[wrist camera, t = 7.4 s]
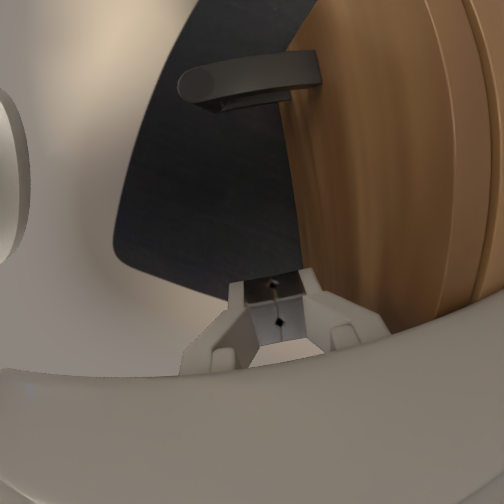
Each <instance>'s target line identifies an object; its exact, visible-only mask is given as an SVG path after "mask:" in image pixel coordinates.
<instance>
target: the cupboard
mask: <svg viewBox="0 0 504 504" xmlns="http://www.w3.org/2000/svg"><path fill="white" fill-rule="evenodd" d="M461 1H462V3H463V6H464V8H465V11H466V14H467V17H468V20H469V22H470V25H471V29H472V32H473V35H474V38H475V42H476V46H477V49H478V53H479V57H480V62H481V66H482V71H483V76H484V82H485V88H486V94H487V102H488V110H489V121H490V137H491V180H490V196H489V207H488V216H487V223H486V230H485V236H484V242H483V248H482V253H481V258H480V262H479V267H478V271H477V275H476V279H475V283H474V287H473V290H472V294H471V297H470V301H469V304H468V305H470V304H472V303H475V302H477V301H479V300H481V299H483V298H485V297H487V296H489V295H491V294H493V293H495V292H497V291H499V290H501V289H503V288H504V0H461Z"/></svg>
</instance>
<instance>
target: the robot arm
mask: <svg viewBox="0 0 504 504" xmlns="http://www.w3.org/2000/svg"><path fill="white" fill-rule="evenodd" d="M305 337H307V338H308V339H309V340H310V341H311V342H313V343H314V344H315V345H316V346H318V347H319V348H320V349H321V350H322V351H324V352H325V354H320V355H316V356H312V357H307V358H302V359H297V360H292V361H287V362H282V363H276V364H270V365H265V366H259V367H252V368H248V367H249V365H250V363H251V362H252V360H253V358H254V357H255V355H256V353H257V351H258V349H259V346H264V345H269V344H273V343H279V342H283V341H288V340H295V339H300V338H305ZM0 504H504V288H503V289H501V290H499V291H497V292H495V293H493V294H491V295H489V296H487V297H485V298H483V299H481V300H479V301H477V302H475V303H472V304H470V305H468V306H466V307H464V308H461V309H459V310H457V311H454V312H452V313H449V314H447V315H445V316H442V317H440V318H437V319H435V320H432V321H429V322H427V323H424V324H421V325H419V326H416V327H413V328H410V329H407V330H404V331H401V332H398V333H395V334H392V335H391V333H390V331H389V330H388V328H387V326H386V325H385V323H384V321H383V320H382V318H381V316H380V315H379V314H378V313H375V312H373V311H371V310H369V309H366V308H364V307H362V306H360V305H358V304H355V303H353V302H351V301H349V300H347V299H344V298H342V297H340V296H338V295H336V294H333V293H331V292H329V291H323V290H322V288H321V286H320V284H319V281H318V279H317V277H316V275H315V273H314V271H313V268H311V267H310V268H306V269H301V270H297V271H293V272H289V273H284V274H280V275H275V276H269V277H263V278H257V279H252V280H246V281H239V282H235V283H230V285H229V297H228V310H225V311H223V312H222V313H221V314H220V315H219V316H218V318H216V319H215V320H214V322H212V323H211V324H210V325H209V326H208V327H207V328H206V330H205V331H204V332H203V333H202V334H201V335H200V336H199V337H198V338H197V339H196V340H195V341H194V342H193V343H192V344H191V345H190V346H189V347H188V348H187V349H186V350H185V351H184V352H183V356H182V361H181V366H180V372H179V376H163V377H129V378H128V377H126V378H123V377H122V378H119V377H113V378H112V377H84V376H68V375H55V374H46V373H37V372H30V371H22V370H16V369H11V368H4V369H2V370H0Z"/></svg>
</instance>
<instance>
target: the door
mask: <svg viewBox="0 0 504 504" xmlns="http://www.w3.org/2000/svg"><path fill="white" fill-rule="evenodd" d="M177 89H178V93H179V95H180V96H181V98H182V99H184V100H185V101H187V102H189V103H191V104H194V105H196V106H198V107H201V108H203V109H205V110H208V111H210V112H212V113H222V112H227V111H232V110H237V109H242V108H247V107H253V106H259V105H265V104H272V103H278V104H279V109H280V114H281V119H282V125H283V130H284V136H285V141H286V147H287V153H288V159H289V165H290V171H291V177H292V184H293V191H294V197H295V204H296V211H297V219H298V226H299V234H300V242H301V250H302V259H303V268H304V269H306V268H310V267H311V268H313V271H314V273H315V275H316V277H317V279H318V281H319V284H320V286H321V288H322V290H323V291H329V292H331V293H333V294H336V295H338V296H340V297H342V298H344V299H347V300H349V301H351V302H353V303H355V304H358V305H360V306H362V307H364V308H366V309H369V310H371V311H373V312H375V313H378V314H379V315H380V316H381V318H382V320H383V321H384V323H385V325H386V326H387V328H388V330H389V331H390V333H391V335H392V334H395V333H398V332H401V331H404V330H407V329H410V328H413V327H416V326H419V325H421V324H424V323H427V322H429V321H432V320H435V319H437V318H440V317H442V316H445V315H447V314H449V313H452V312H454V311H457V310H459V309H461V308H464V307H466V306H468V304H469V301H470V297H471V294H472V290H473V287H474V283H475V279H476V275H477V271H478V267H479V262H480V258H481V253H482V248H483V242H484V236H485V230H486V223H487V216H488V207H489V196H490V180H491V137H490V121H489V110H488V102H487V94H486V88H485V82H484V76H483V71H482V66H481V62H480V57H479V53H478V49H477V46H476V42H475V38H474V35H473V32H472V29H471V25H470V22H469V20H468V17H467V14H466V11H465V8H464V6H463V3H462V1H461V0H318V1H317V2H316V4H315V5H314V7H313V8H312V10H311V11H310V13H309V14H308V16H307V17H306V19H305V21H304V22H303V24H302V25H301V27H300V28H299V30H298V32H297V33H296V35H295V36H294V38H293V40H292V41H291V43H290V45H289V46H288V48H287V50H286V51H285V52H276V53H268V54H260V55H253V56H247V57H241V58H235V59H230V60H225V61H220V62H215V63H211V64H207V65H203V66H198V67H195V68H192V69H189V70H187V71H186V72H184V73H183V74H182V76H181V77H180V79H179V81H178V85H177Z"/></svg>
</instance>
